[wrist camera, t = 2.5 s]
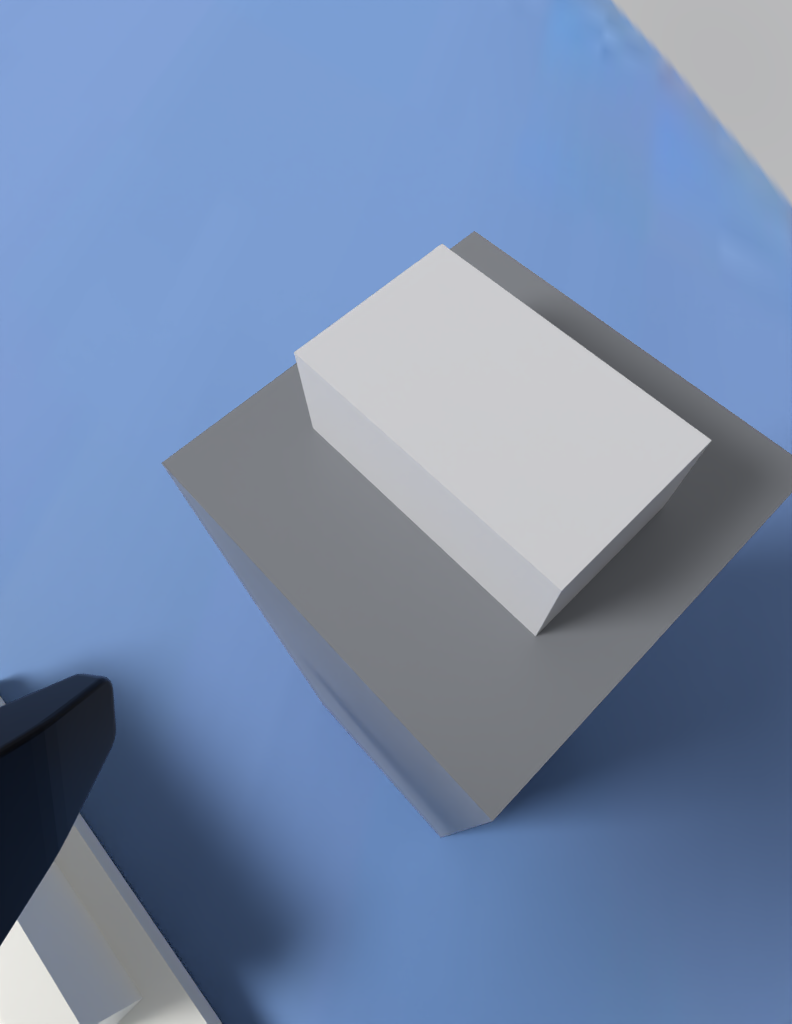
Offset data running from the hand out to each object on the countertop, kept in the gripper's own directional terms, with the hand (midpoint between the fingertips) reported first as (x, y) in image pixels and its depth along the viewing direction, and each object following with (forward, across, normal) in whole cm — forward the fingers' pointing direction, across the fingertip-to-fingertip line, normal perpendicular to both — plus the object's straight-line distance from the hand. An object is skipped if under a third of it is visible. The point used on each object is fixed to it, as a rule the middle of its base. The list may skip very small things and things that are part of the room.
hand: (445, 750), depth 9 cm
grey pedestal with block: (+8, 0, +5) cm, 10 cm away
